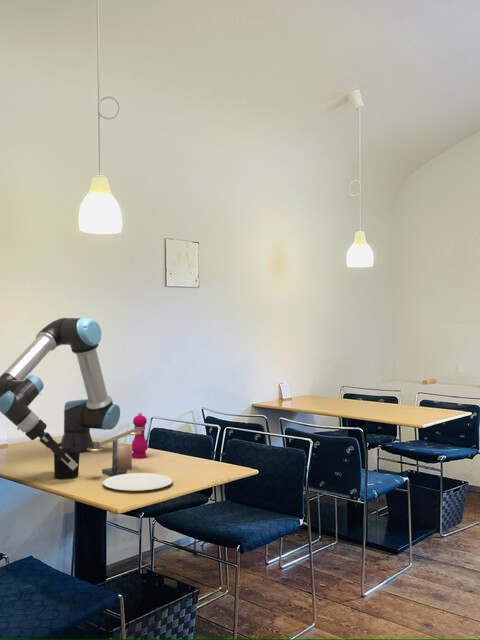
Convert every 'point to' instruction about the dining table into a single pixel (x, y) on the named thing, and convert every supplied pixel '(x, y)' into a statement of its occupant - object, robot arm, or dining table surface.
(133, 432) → the balance
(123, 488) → the plate
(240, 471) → the dining table surface
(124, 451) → the tan boxy piece
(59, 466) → the pen holder
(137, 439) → the pepper mill
